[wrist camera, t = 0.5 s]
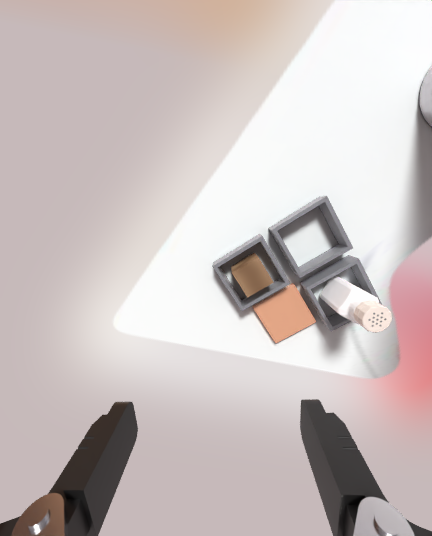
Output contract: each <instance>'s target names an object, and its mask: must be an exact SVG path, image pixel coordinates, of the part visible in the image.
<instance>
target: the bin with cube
mask: <svg viewBox="0 0 432 536" xmlns="http://www.w3.org/2000/svg"><path fill="white" fill-rule="evenodd" d="M258 242H260V243H261V245H262V247H263V248H264V250H265V252H266V253H267V255H268V257H269V258H270V260H271V262H272V263H273V265H274V267H275V268H276V270H277V272H278V273H279V275H280V277H281V278H279V279H277V280H276V281H274V283H272V284H270V285H268V286H267V287H265V288H263V289H262V290H260V291H258V292H256V293H255V294H253V295H251V296H249V297H246V298H245V299H243V300H241V298H240V297H239V295H238V294H237V292H236V291H235V289H234V288H233V286H232V285H231V283H230V281H229V280H228V278H227V277H226V275H225V274H224V272H223V271H222V269H221V268H220V266H221V265H222V264H224V263H226V262H227V261H229V260H231V259H232V258H234V257H235V256H237V255H239V254H240V253H242V252H244V251H245V250H247V249H249V248H250V247H252V246H253V245H255V244H257V243H258ZM212 267H213V268H214V270H215V271H216V273H217V274H218V276H219V277H220V279H221V280H222V282H223V283H224V285H225V286H226V288H227V289H228V291H229V292H230V294H231V295H232V297H233V298H234V300H235V302H236V303H237V305H238V306H239V308H240V309H241V311H243V310H245V309H247V308H248V307H250V306H252V305H254V304H255V303H257V302H259V301H261V300H262V299H264V298H266V297H268V296H269V295H271V294H273V293H275V292H277V291H278V290H280V289H282V288H284V287H285V286H287V285H289V284H290V282H289V281H288V279H287V277H286V275H285V274H284V272H283V270H282V269H281V267H280V265H279V264H278V262H277V260H276V258H275V257H274V255H273V253H272V252H271V250H270V248H269V247H268V245H267V243H266V242H265V240H264V238H263V236H262V235H260V234H258V235H257V236H255V237H254V238H252V239H250V240H249V241H247V242H246V243H244V244H242V245H241V246H239V247H237V248H236V249H234V250H233V251H231V252H229V253H228V254H226V255H225V256H223V257H221V258H220V259H218V260H216V261H215V262H213V266H212Z"/></svg>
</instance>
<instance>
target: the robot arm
mask: <svg viewBox="0 0 432 536" xmlns="http://www.w3.org/2000/svg"><path fill="white" fill-rule="evenodd" d="M420 107H421V111H422V114H423V116H424V118H425V120H426V121H427V122H428V123H429V124H430V126H432V66H431V67H430V69H429V70H428V72H427V74H426V76H425V78H424V80H423V83H422V86H421V91H420ZM300 428H301V435H302V440H303V443H304V446H305V450H306V453H307V456H308V459H309V462H310V465H311V468H312V471H313V474H314V477H315V481H316V483H317V487H318V490H319V493H320V496H321V499H322V502H323V505H324V508H325V512H326V515H327V518H328V520H329V524H330V527H331V530H332V533H333V536H432V531H429V530H426V529H424V528H421V527H419V526H417V525H415V524H413V523H411V522H409V521H408V520H407V519H405V518H404V517H403V515H402V514H401V513H400V512H399V511H398V510H397V509H396V508H395V507H393V506H392V505H391V504H389V502H388V501H387V500H386V498H385V497H384V495H383V494H382V492H381V490H380V488H379V486H378V484H377V482H376V481H375V479H374V477H373V475H372V473H371V471H370V470H369V468H368V466H367V464H366V462H365V460H364V458H363V457H362V455H361V453H360V451H359V450H358V448H357V446H356V444H355V442H354V440H353V439H352V437H351V435H350V433H349V431H348V429H347V427H346V425H345V424H344V423H343V422H342V421H341V420H340V419H339V418H338V417H337V416H336V415H335V414H334V413H326V412H325V410H324V408H323V406H322V404H321V402H320V401H319V400H301V421H300ZM137 431H138V428H137V421H136V416H135V411H134V406H133V403H132V402H115V403H114V405H113V406H112V408H111V409H110V411H109V413H108V414H107V415H102V416H101V417H100V418H99V419H98V420H97V421H96V422H95V423H94V424H92V426H91V428H90V429H89V430H88V432H87V434H86V435H85V438H84V439H83V440H82V442H81V443H80V445H79V446H78V449H77V450H76V451H75V453H74V455H73V456H72V457H71V459H70V461H69V462H68V464H67V465H66V467H65V468H64V470H63V472H62V473H61V475H60V477H59V478H58V480H57V481H56V483H55V484H54V486H53V488H52V489H51V490H50V492H49V493H48V494H47V495H44V496H43V497H41V498H39V499H38V500H36V501H35V502H34V503H32V504H31V505H30V506H29V507H28V508H27V509H26V510H25V511H24V513H23V514H22V515H21V516H20V517H18V518H15V519H12V520H9V521H6V522H4V523H1V524H0V536H98V534H99V532H100V529H101V527H102V524H103V522H104V519H105V517H106V514H107V512H108V509H109V507H110V504H111V502H112V499H113V497H114V494H115V492H116V489H117V487H118V484H119V481H120V479H121V477H122V474H123V472H124V469H125V467H126V464H127V461H128V459H129V456H130V454H131V451H132V449H133V447H134V444H135V441H136V437H137Z"/></svg>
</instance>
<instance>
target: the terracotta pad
mask: <svg viewBox="0 0 432 536" xmlns="http://www.w3.org/2000/svg"><path fill="white" fill-rule="evenodd" d="M253 309H254V310H255V312H256V314H257V315H258V317H259V318H260V320H261V321H262V323H263V324H264V326H265V327H266V329H267V331H268V332H269V334H270V335H271V337H272V338H273V340H274V341H275V343H278V342H279V341H281V340H283V339H285V338H287V337H289V336H291V335H293V334H295V333H296V332H298V331H300V330H302V329H304V328H306V327H308V326H310V325H312V324H313V323H315V322H316V320H315V319H314V317H313V315H312V314H311V312H310V310H309V308H308V307H307V305H306V303H305V302H304V300H303V298H302V296H301V295H300V293H299V291H298V290H297V288H296V286H295V285H294V284H293V283H292V284H290V285H289V286H287V287H285V288H283V289H281V290H280V291H278V292H276V293H274V294H273V295H271V296H269V297H267V298H266V299H264V300H262V301H260V302H259V303H257V304H255V305H253Z"/></svg>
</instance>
